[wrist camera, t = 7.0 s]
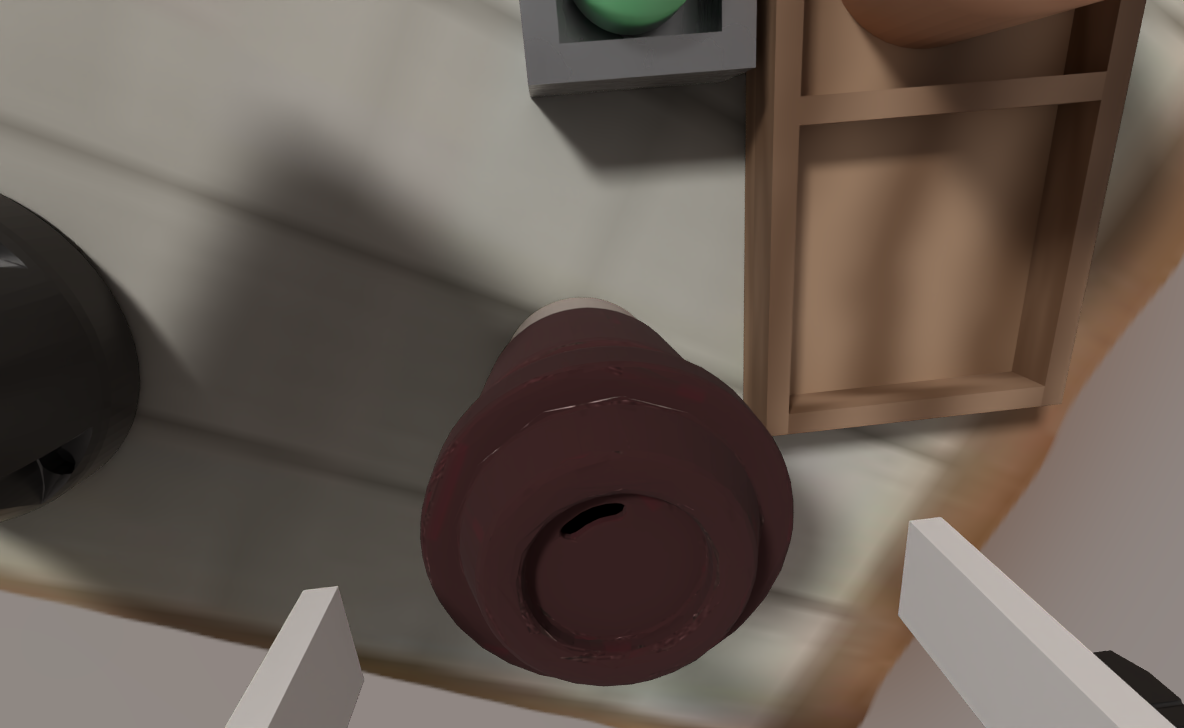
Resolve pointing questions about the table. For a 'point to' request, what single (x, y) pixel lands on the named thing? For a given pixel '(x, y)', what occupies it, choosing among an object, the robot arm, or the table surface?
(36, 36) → the table surface
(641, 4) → the button
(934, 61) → the divided tray
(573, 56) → the grey square frame
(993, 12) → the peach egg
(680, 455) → the coffee cup
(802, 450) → the table surface
